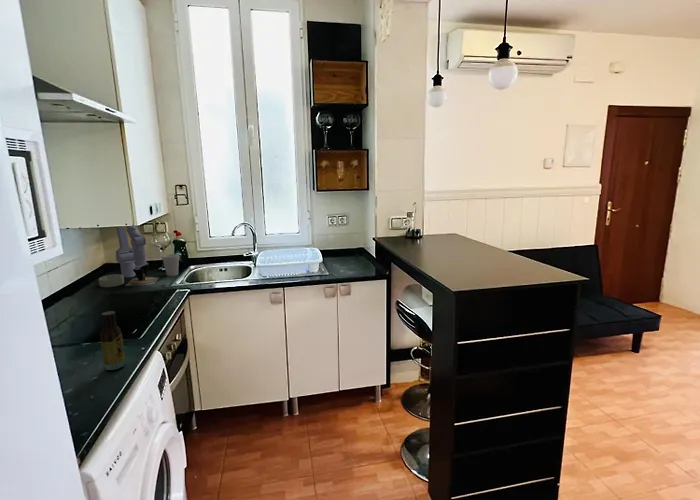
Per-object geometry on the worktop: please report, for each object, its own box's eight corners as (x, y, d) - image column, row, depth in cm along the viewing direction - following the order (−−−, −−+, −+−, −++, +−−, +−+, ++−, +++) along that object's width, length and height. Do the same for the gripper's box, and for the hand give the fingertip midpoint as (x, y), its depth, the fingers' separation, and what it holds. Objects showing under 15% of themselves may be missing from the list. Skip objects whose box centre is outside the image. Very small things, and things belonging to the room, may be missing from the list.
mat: (133, 279, 236) (133, 278, 236) (159, 277, 239) (159, 277, 239) (124, 286, 222) (124, 285, 222) (152, 285, 225) (152, 284, 225)
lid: (133, 278, 236) (133, 272, 235) (158, 277, 238) (157, 270, 238) (125, 285, 222) (125, 278, 221) (152, 284, 225) (151, 276, 224)
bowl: (105, 282, 230) (104, 275, 229) (127, 281, 232) (126, 274, 231) (96, 288, 218) (95, 280, 217) (119, 287, 221) (118, 279, 220)
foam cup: (174, 277, 239) (172, 257, 237) (161, 277, 241) (159, 256, 238) (183, 273, 248) (181, 254, 246) (170, 273, 250) (169, 253, 247)
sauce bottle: (124, 370, 130) (116, 315, 126) (103, 373, 128) (94, 317, 124) (127, 361, 136) (120, 308, 132) (107, 364, 134) (99, 311, 130)
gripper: (143, 258, 221) (146, 281, 224) (150, 253, 235) (153, 274, 238) (130, 259, 220) (132, 282, 222) (138, 254, 233) (140, 275, 236)
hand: (142, 278), depth 230 cm, fingers open, 7 cm apart
